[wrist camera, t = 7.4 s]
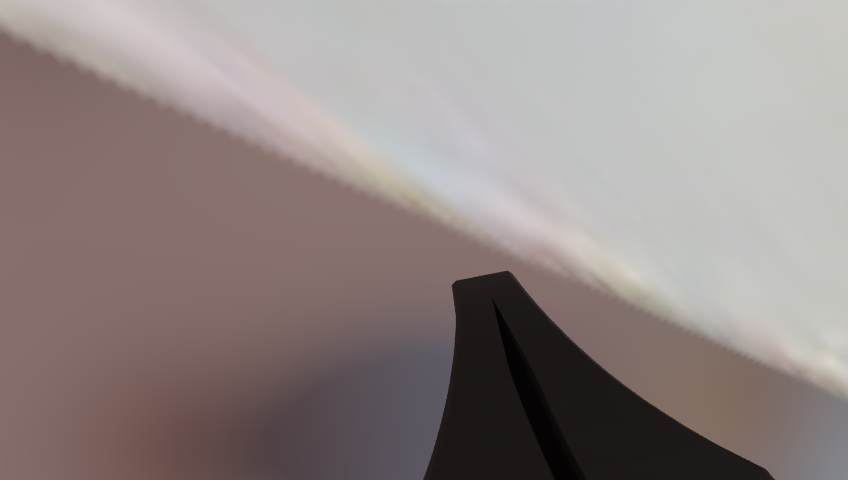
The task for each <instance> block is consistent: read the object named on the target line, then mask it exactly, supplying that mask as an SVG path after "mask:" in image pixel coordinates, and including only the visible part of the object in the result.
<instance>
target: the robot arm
mask: <svg viewBox="0 0 848 480" xmlns="http://www.w3.org/2000/svg"><path fill="white" fill-rule="evenodd" d="M452 291H453V298H454V305H455V313H456V333H455V348H454V357H453V364H452V371H451V377H450V384H449V389H448V395H447V399H446V404H445V409H444V413H443V417H442V422H441V425H440V429H439V432H438V436H437V440H436V443H435V447H434V450H433V453H432V456H431V460H430V462H429V466H428V468H427V471H426V474H425V477H424V479H423V480H775V479H774V478H773V477H772V476H771V475H770V474H769V472H768V471H767V470H766V469H764V468H762V467H760V466H758V465H756V464H754V463H752V462H750V461H748V460H746V459H744V458H742V457H741V456H738V455H737V454H734V453H733V452H730V451H729V450H727V449H724V448H723V447H721V446H719V445H717V444H715V443H713V442H711V441H710V440H708V439H706V438H704V437H703V436H701V435H699V434H698V433H696V432H694V431H692V430H691V429H689V428H687V427H686V426H684V425H683V424H681V423H679V422H678V421H676V420H675V419H673V418H672V417H670V416H669V415H667V414H665V413H664V412H662V411H661V410H659V409H658V408H656V407H655V406H653V405H652V404H650V403H648V402H647V401H646V400H644V399H643V398H641V397H640V396H639V395H637V394H636V393H634V392H633V391H632V390H630V389H629V388H628V387H626V386H625V385H624V384H622V383H621V382H620V381H618V380H617V379H616V378H614V377H613V376H612V375H611V374H609V373H608V372H607V371H606V370H605V369H603V368H602V367H601V366H600V365H598V364H597V363H596V362H595V361H594V360H593V359H592V358H590V357H589V356H588V355H587V354H586V353H585V352H584V351H583V350H582V349H581V348H579V347H578V346H577V345H576V344H575V343H574V342H573V341H572V340H571V339H570V338H569V337H568V336H567V335H566V334H565V333H564V332H563V331H562V330H561V329H560V328H559V327H558V326H557V325H556V324H555V323H554V322H553V321H552V320H551V319H550V318H549V317H548V316H547V315H546V314H545V313H544V312H543V310H542V309H541V308H540V307H539V306H538V305H537V304H536V303H535V301H534V300H533V299H532V298H531V297H530V296H529V294H528V293H527V292H526V291H525V290H524V288H523V287H522V286H521V285H520V283H519V282H518V281H517V279H516V278H515V277H514V276H513V274H512V273H510V272H509V271H504V272H499V273H494V274H489V275H483V276H478V277H473V278H468V279H463V280H458V281H455V283H454V284H453V285H452Z"/></svg>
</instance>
